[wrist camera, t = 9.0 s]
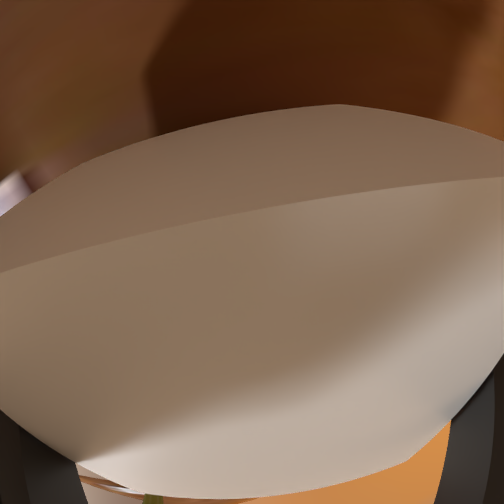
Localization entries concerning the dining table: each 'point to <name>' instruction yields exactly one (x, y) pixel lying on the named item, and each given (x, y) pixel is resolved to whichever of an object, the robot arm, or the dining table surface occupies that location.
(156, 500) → the plant pot
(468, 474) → the robot arm
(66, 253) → the off-white square block
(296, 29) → the dining table surface
